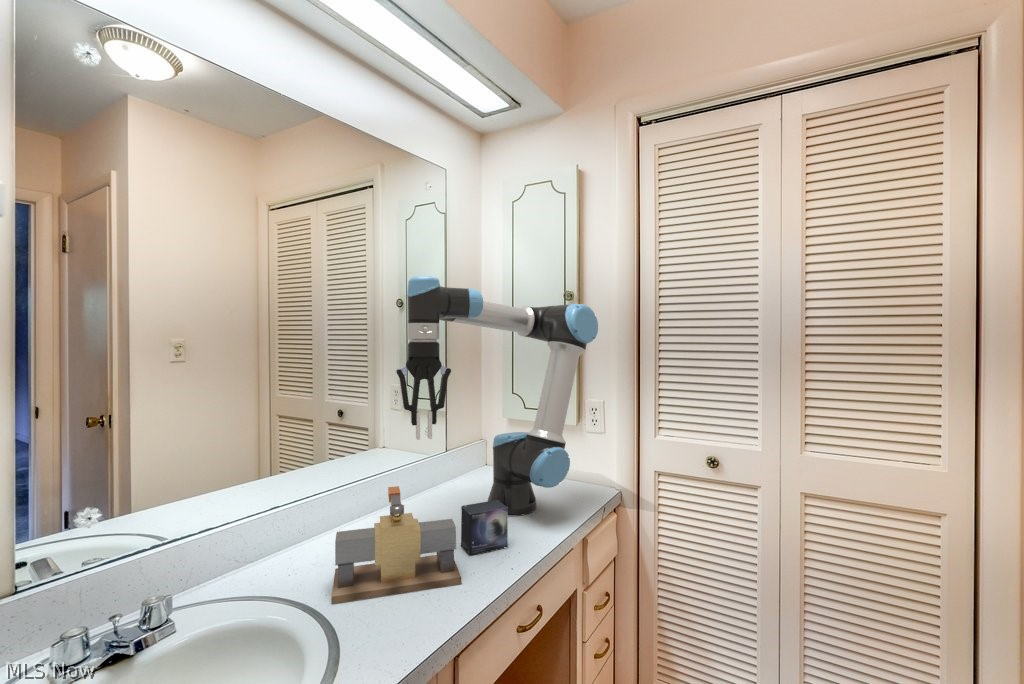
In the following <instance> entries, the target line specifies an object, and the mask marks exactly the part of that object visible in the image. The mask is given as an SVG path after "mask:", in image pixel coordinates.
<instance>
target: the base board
mask: <svg viewBox="0 0 1024 684" xmlns="http://www.w3.org/2000/svg"><path fill="white" fill-rule="evenodd" d="M334 569H335V570H334V576H333V584H332V592H331V605H334V604H335V605H336V604H342V603H348V602H354V601H360V600H361V601H363V600H369V599H374V598H380V597H387V596H394V595H400V594H406V593H414V592H419V591H425V590H432V589H439V588H446V587H451V586H458V585H462V575H461V573H460V571H459V568H458V565H457V563H456V561H455V559H454V571H452V572H445V573H440V570H439V567H438V564H437V554H435V555H425V556H421V559H417V560H415V578H412V579H406V580H399V581H392V582H385V583H381V574H380V565H375V562H374V563H373V562H372V563H367V564H359V565H354V583H353V586H350V587H343V588H338V567H337V568H334Z"/></svg>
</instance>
